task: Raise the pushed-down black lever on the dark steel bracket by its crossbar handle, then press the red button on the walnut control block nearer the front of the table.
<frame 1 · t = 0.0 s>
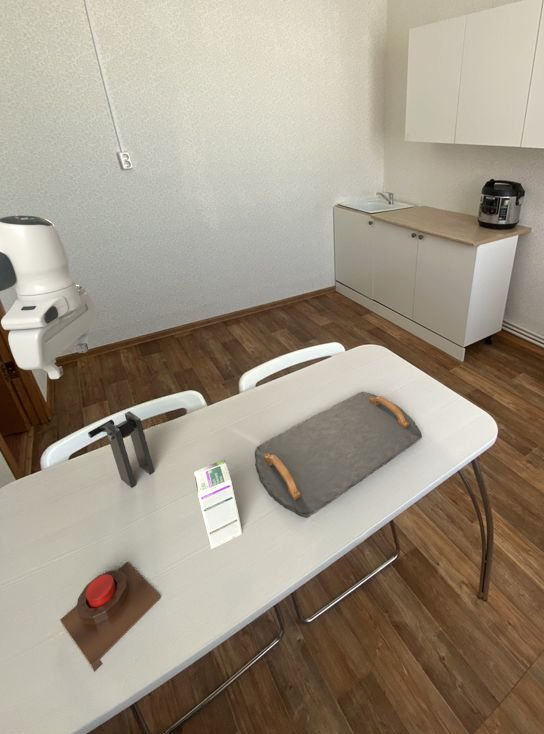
hand: (71, 363, 78), 28 cm above the table, tool pointing down, fingers open, 8 cm apart
bracket: (139, 479, 84), on the table
lever: (112, 428, 83), point 11 cm above the table, hinge at -25.0°
button: (101, 590, 60), point 4 cm above the table, slide at 0.1 cm
serving tray: (340, 451, 91), on the table
syrup box: (224, 534, 72), on the table
control block: (113, 614, 60), on the table
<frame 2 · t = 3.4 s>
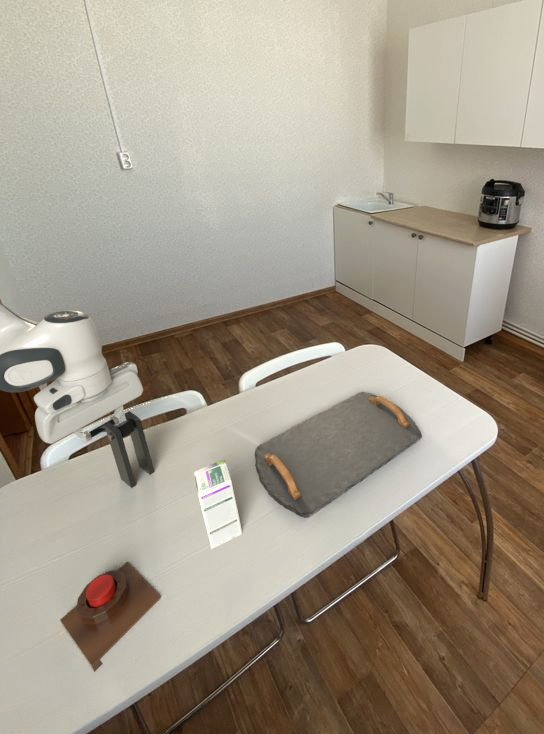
hand: (102, 431, 88), 7 cm above the table, tool pointing down, fingers closed on lever, 5 cm apart
lever: (112, 428, 83), point 11 cm above the table, hinge at -25.0°, touching gripper
everything else where it was.
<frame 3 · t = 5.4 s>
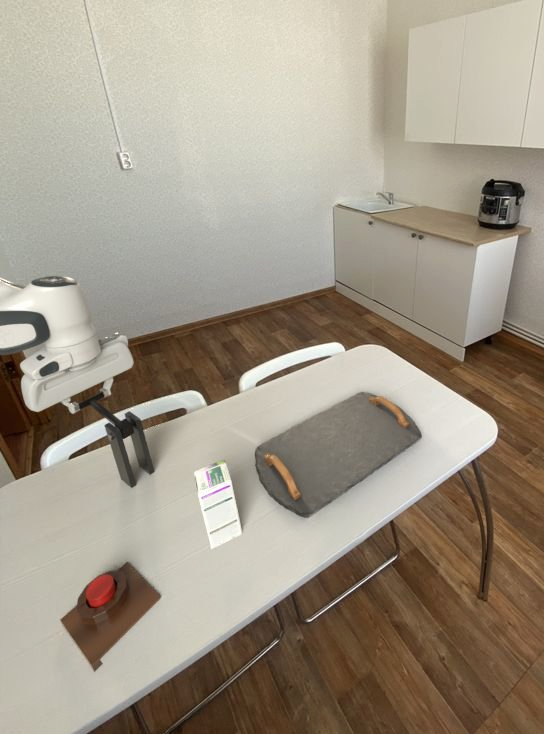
hand: (91, 403, 86), 15 cm above the table, tool pointing down, fingers closed on lever, 5 cm apart
lever: (107, 414, 82), point 15 cm above the table, hinge at 5.0°, touching gripper
everything else where it was.
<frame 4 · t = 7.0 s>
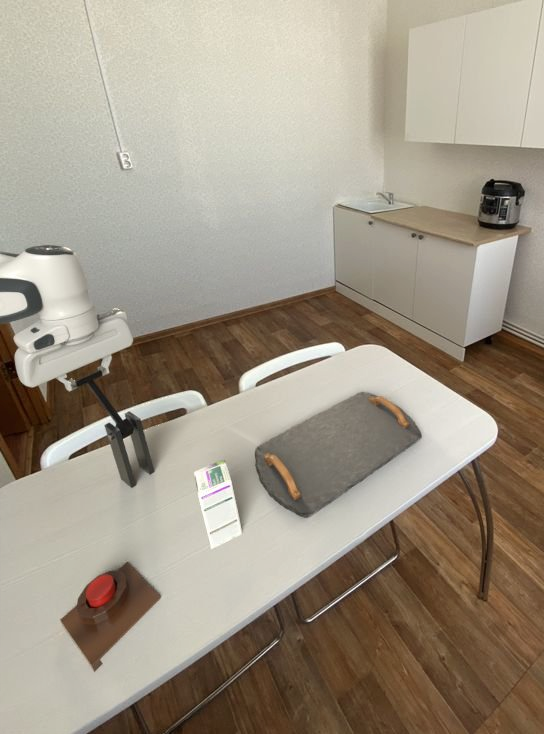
hand: (88, 381, 82), 21 cm above the table, tool pointing down, fingers closed on lever, 5 cm apart
lever: (106, 404, 80), point 18 cm above the table, hinge at 34.0°, touching gripper
everything else where it was.
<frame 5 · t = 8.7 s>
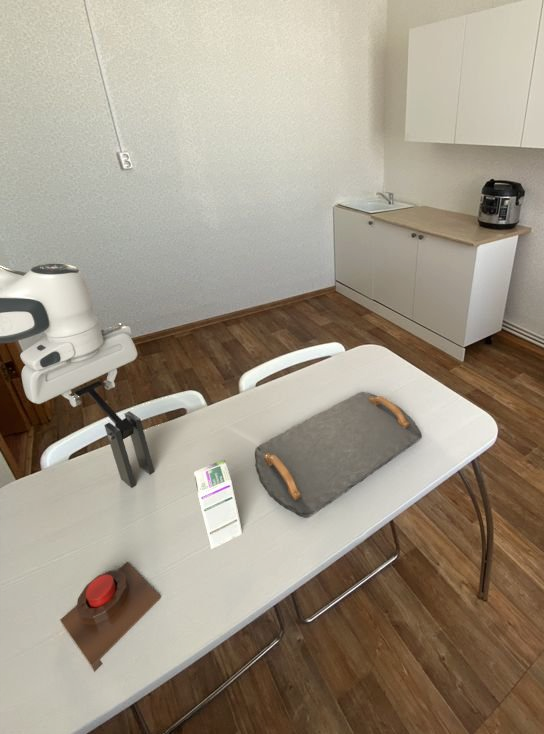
hand: (93, 395, 83), 18 cm above the table, tool pointing down, fingers open, 5 cm apart
lever: (106, 409, 81), point 16 cm above the table, hinge at 20.1°
everything else where it was.
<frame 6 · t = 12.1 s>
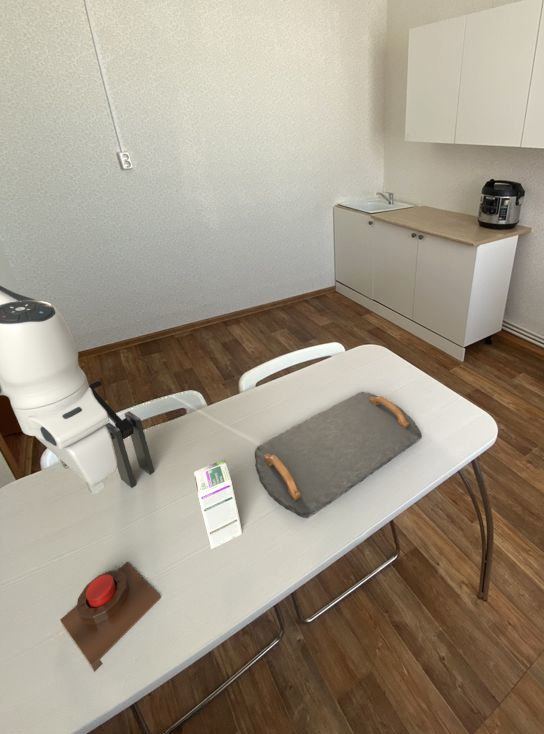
hand: (83, 476, 61), 19 cm above the table, tool pointing down, fingers open, 8 cm apart
nothing on the table moved.
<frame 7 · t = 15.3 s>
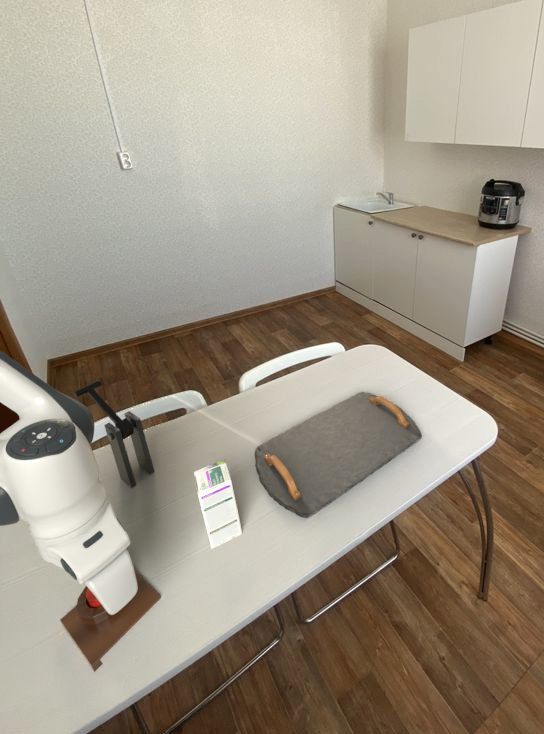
hand: (100, 587, 59), 5 cm above the table, tool pointing down, fingers closed, pressing on button
button: (101, 591, 60), point 4 cm above the table, slide at 0.0 cm, touching gripper
everything else where it was.
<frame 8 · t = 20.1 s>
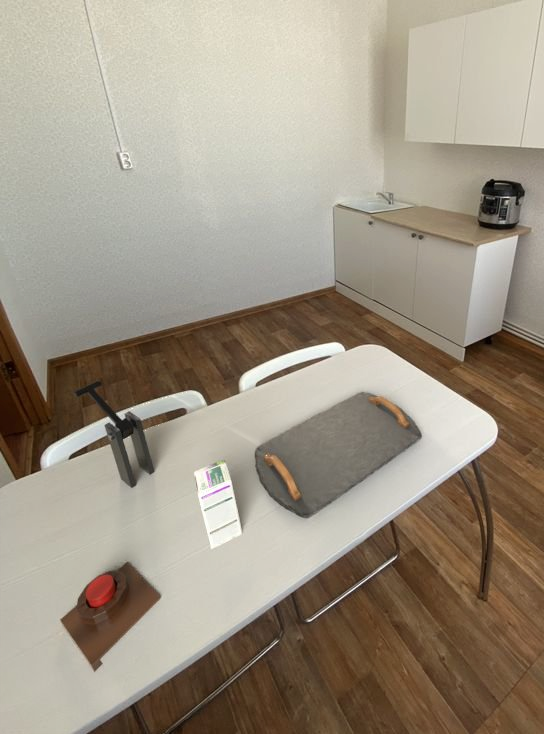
button: (101, 590, 60), point 4 cm above the table, slide at 0.1 cm
everything else where it was.
at the end: lever reached +34° during the clip, +20° at the end; lever at +20° (first picture: -25°); button pushed in 1.0 cm at the most during the clip, back to where it started at the end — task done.
